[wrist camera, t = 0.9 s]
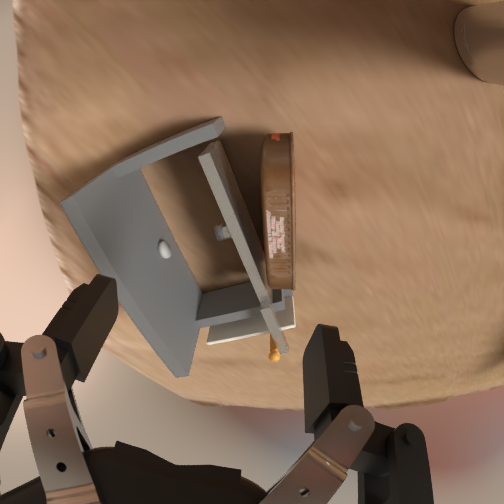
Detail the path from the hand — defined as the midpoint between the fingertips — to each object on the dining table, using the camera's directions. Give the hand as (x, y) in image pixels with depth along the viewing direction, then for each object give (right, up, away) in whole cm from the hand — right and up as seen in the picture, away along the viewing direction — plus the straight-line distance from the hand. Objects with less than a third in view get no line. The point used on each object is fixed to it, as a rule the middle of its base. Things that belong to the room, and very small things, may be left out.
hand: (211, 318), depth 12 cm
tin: (+4, +8, +20) cm, 23 cm away
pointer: (+4, -5, +26) cm, 27 cm away
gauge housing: (-3, +5, +23) cm, 23 cm away
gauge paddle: (+1, +4, +22) cm, 22 cm away
